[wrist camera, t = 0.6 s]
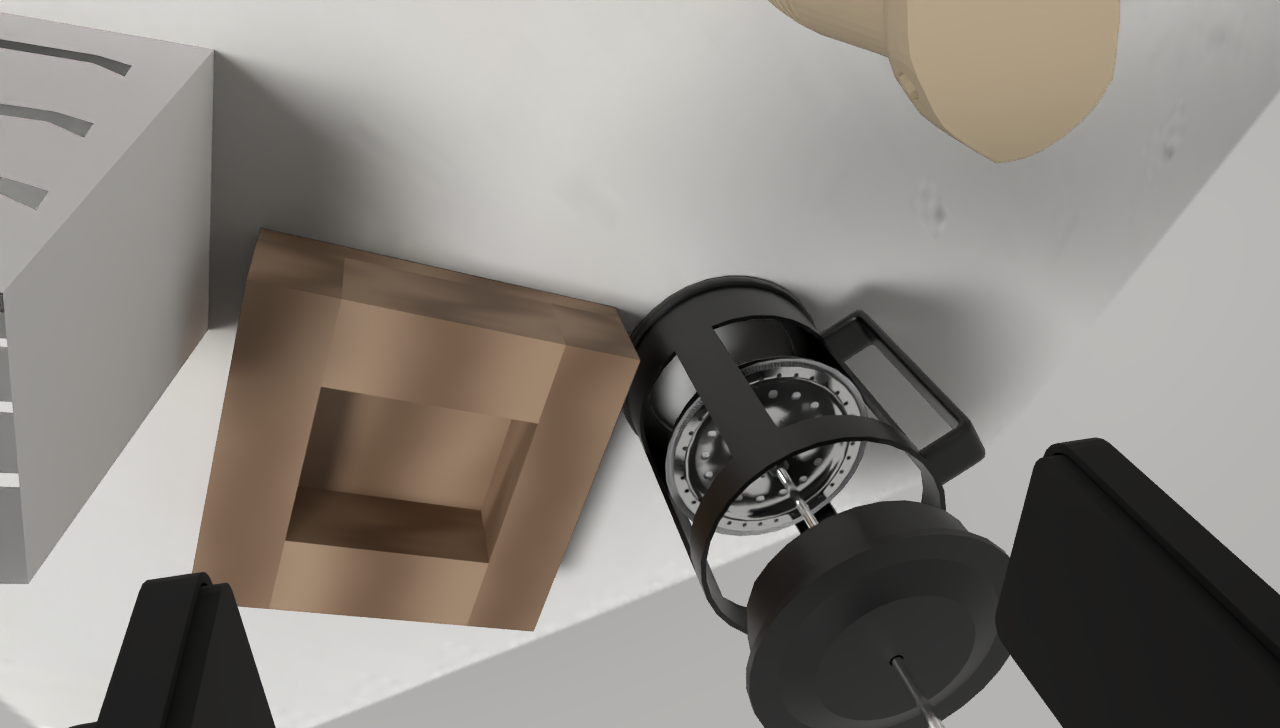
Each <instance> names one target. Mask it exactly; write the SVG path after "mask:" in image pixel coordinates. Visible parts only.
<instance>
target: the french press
mask: <svg viewBox="0 0 1280 728" xmlns="http://www.w3.org/2000/svg"><path fill="white" fill-rule="evenodd" d="M751 319H773V320H775V321H776V322H777V323H779V324H780V325H781V326H782V327H783V328H784V330H785V331H786V333H787V335H788V337H789V339H790V341H791V345H792V350H793V356H772V357H766V358H759V359H754V360H751V361H747V362H744V363H741V364H738V365H736V363H735V362H734V360H733V359H732V357H731V356H730V354H729V352H728V351H727V349H726V348H725V346H724V345H723V343H722V342H721V340H720V339H719V337H718V336H717V334H716V332H715V331H714V329H716V328H719V327H722V326H725V325H727V324H730V323H734V322H739V321H745V320H751ZM630 340H631V342H632V344H633V346H634V348H635V350H636V352H637V354H638V356H639V358H640V363H639V365H638V368H637V370H636V373H635V375H634V378H633V380H632V383H631V385H630V388H629V391H628V393H627V396H626V398H625V401H624V403H623V406H622V409H623V412H624V415H625V418H626V420H627V421H628V423H629V425H630V426H631V428H632V429H633V431H634V432H635V434H636V435H637V436H639V438H640V441H641V443H642V445H643V448H644V450H645V453H646V455H647V457H648V460H649V462H650V465H651V467H652V469H653V472H654V474H655V477H656V479H657V481H658V484H659V486H660V488H661V491H662V493H663V496H664V498H665V500H666V503H667V505H668V508H669V510H670V512H671V515H672V517H673V520H674V522H675V524H676V527H677V529H678V531H679V534H680V536H681V539H682V541H683V543H684V546H685V548H686V551H687V553H688V555H689V558H690V560H691V563H692V565H693V567H694V570H695V572H696V574H697V577H698V579H699V582H700V584H701V586H702V589H703V591H704V594H705V595H706V598H707V600H708V602H709V603H710V605H711V606H712V608H713V609H714V611H715V612H716V614H717V615H718V616H719V617H721V618H722V619H723V620H724V621H725V622H726V623H728V624H729V625H730V626H732V627H734V628H736V629H738V630H740V631H742V632H743V633H746V634H748V640H749V646H750V651H751V652H750V656H749V660H748V664H747V668H746V689H747V693H748V695H749V699H750V702H751V706H752V708H753V710H754V713H755V715H756V716H757V718H758V719H759V721H760V722H761V723H762V725H763V726H764V728H929V727H930V728H945V726H944V725H943V723H942V722H941V721H942V720H943V719H945V718H946V717H947V716H949V715H951V714H952V713H954V712H955V711H957V710H958V709H960V708H961V707H962V706H964V705H965V704H966V703H967V702H968V701H970V700H971V699H972V698H973V697H974V696H975V695H976V694H978V692H980V691H981V690H982V689H983V688H984V687H985V686H986V685H987V684H988V683H989V681H990V680H991V679H992V678H993V677H994V676H995V675H996V674H997V673H998V671H999V670H1000V669H1001V667H1002V666H1003V665H1004V663H1005V661H1006V660H1007V659H1008V657H1009V655H1010V654H1009V652H1008V651H1007V650H1006V648H1005V647H1004V645H1003V644H1002V642H1001V640H1000V638H999V636H998V633H997V629H996V625H995V614H996V609H997V606H998V602H999V598H1000V594H1001V590H1002V587H1003V583H1004V579H1005V575H1006V571H1007V567H1008V564H1009V560H1010V557H1009V556H1008V555H1007V554H1006V553H1005V551H1004V550H1002V549H1001V548H1000V547H998V546H997V545H995V544H994V543H993V542H991V541H990V540H988V539H987V538H984V537H981V536H978V535H976V534H973V533H970V532H968V531H967V530H966V529H965V527H964V526H963V525H962V524H961V522H960V521H959V520H957V519H956V518H955V517H953V516H952V515H951V514H949V513H948V512H946V505H945V495H944V489H943V487H942V485H943V484H945V483H946V482H948V481H949V480H951V479H953V478H954V477H956V476H957V475H959V474H961V473H962V472H964V471H965V470H967V469H968V468H970V467H972V466H973V465H975V464H976V463H978V462H979V461H981V460H982V459H983V458H984V457H985V449H984V447H983V445H982V443H981V441H980V439H979V437H978V435H977V433H976V431H975V429H974V427H973V425H972V423H971V421H970V420H969V419H968V418H967V416H966V415H965V414H964V413H963V412H962V411H961V410H960V409H959V408H958V407H957V406H956V405H955V404H954V403H953V402H952V401H951V400H950V399H949V398H948V397H947V396H946V395H945V394H944V393H943V392H942V391H941V390H940V389H939V388H938V387H937V386H936V385H935V384H934V383H933V382H932V381H931V380H930V378H929V377H928V376H927V375H926V374H925V373H924V372H923V371H922V370H921V369H920V368H919V367H918V366H917V365H916V364H915V363H914V362H913V361H912V360H911V359H910V358H909V357H908V356H907V355H906V354H905V353H904V352H903V351H902V350H901V349H900V348H899V347H898V346H897V345H896V344H895V343H894V342H893V341H892V339H891V338H890V337H889V336H888V335H887V334H886V333H885V332H884V331H883V330H882V329H881V328H880V327H879V326H878V325H877V324H876V323H875V322H874V321H873V320H872V319H871V318H870V317H869V316H868V315H867V314H866V313H865V312H864V311H862V310H856V311H854V312H852V313H851V314H849V315H848V316H846V317H845V318H843V319H842V320H840V321H839V322H837V323H836V324H834V325H833V326H831V327H830V328H828V329H826V330H825V331H823V332H822V333H819V332H818V331H817V329H816V327H815V325H814V322H813V320H812V318H811V316H810V315H809V313H808V312H807V311H806V309H805V308H804V307H803V306H802V304H801V303H800V302H799V301H798V300H797V299H796V298H795V297H794V296H792V295H791V294H790V293H789V292H787V291H786V290H785V289H783V288H781V287H779V286H777V285H774V284H772V283H770V282H768V281H764V280H760V279H756V278H751V277H738V276H726V277H720V278H714V279H708V280H705V281H702V282H699V283H696V284H693V285H691V286H688V287H686V288H684V289H682V290H680V291H678V292H677V293H675V294H673V295H671V296H669V297H668V298H666V299H665V300H664V301H663V302H662V303H660V304H659V305H658V306H657V307H655V308H654V309H653V310H652V311H651V312H650V313H649V314H648V315H647V316H646V317H645V319H644V320H643V321H642V322H641V323H640V324H639V325H638V326H637V328H636V330H635V331H634V333H633V335H632V336H631V338H630ZM872 344H873V345H875V346H876V347H877V348H878V349H879V350H880V351H881V352H882V353H883V354H884V356H885V357H886V358H887V359H888V360H889V361H890V362H891V363H892V364H893V365H894V366H895V367H896V368H897V369H898V371H899V372H900V373H901V374H902V375H903V376H904V377H905V378H906V379H907V380H908V381H909V382H910V383H911V384H912V386H913V387H914V388H915V389H916V390H917V391H918V392H919V393H920V394H921V395H922V396H923V397H924V398H925V399H926V401H927V402H928V403H929V404H930V405H931V406H932V407H933V408H934V409H935V410H936V411H937V412H938V413H939V414H940V416H941V417H942V418H943V419H944V420H945V421H946V422H947V423H948V424H949V425H950V426H951V427H952V428H953V430H951V431H950V432H948V433H947V434H945V435H944V436H942V437H940V438H939V439H937V440H936V441H934V442H933V443H931V444H929V445H928V446H926V447H925V448H923V449H922V450H920V451H919V450H918V449H917V448H916V447H915V445H914V444H913V443H912V442H911V441H910V439H909V438H908V437H907V436H906V435H905V434H904V432H903V431H902V430H901V429H900V428H899V426H898V425H897V424H896V423H895V422H894V421H893V419H892V418H891V417H890V416H889V415H888V414H887V412H886V411H885V410H884V409H883V408H882V406H881V405H880V404H879V403H878V402H877V401H876V399H875V398H874V397H873V396H872V395H871V393H870V392H869V391H868V390H867V389H866V388H865V386H864V385H863V384H862V383H861V382H860V380H859V379H858V378H857V377H856V376H855V375H854V373H853V372H852V371H851V370H850V369H849V368H848V366H847V365H846V364H845V363H844V361H846V360H847V359H849V358H850V357H852V356H853V355H855V354H856V353H858V352H859V351H861V350H862V349H864V348H865V347H867V346H869V345H872ZM676 354H677V356H678V358H679V360H680V362H681V363H682V365H683V367H684V369H685V371H686V372H687V374H688V376H689V378H690V380H691V381H692V383H693V385H694V387H695V389H696V391H697V392H696V393H695V394H694V396H693V397H692V398H691V399H690V401H689V402H688V403H687V404H686V406H685V407H684V409H683V411H682V412H681V414H680V416H679V417H678V419H677V421H676V423H675V425H674V428H673V429H672V428H670V427H669V426H667V425H666V424H665V423H664V422H663V421H662V420H661V419H660V418H659V417H658V416H657V415H656V413H655V411H654V410H653V408H652V405H651V402H650V398H649V396H650V393H651V390H652V388H653V385H654V384H655V382H656V380H657V379H658V377H659V376H660V374H661V372H662V371H663V369H664V368H665V367H666V366H667V365H668V363H669V362H670V361H671V360H672V359H673V358H674V357H675V356H676ZM864 402H865V404H866V405H867V406H868V407H869V408H870V410H871V411H872V412H873V413H874V414H875V416H876V417H877V418H878V419H879V420H876V419H873V418H868V417H867V410H866V406H865V404H864ZM867 441H869V442H875V443H882V444H888V445H891V446H893V447H896V448H898V449H901V450H903V451H905V452H906V453H907V454H908V456H909V457H910V458H911V459H912V461H913V462H914V463H915V464H916V465H917V467H918V468H919V469H920V470H921V475H922V483H923V493H922V501H921V503H919V502H912V501H905V500H904V501H882V502H877V503H872V504H867V505H863V506H858V507H855V508H852V509H849V510H847V511H844V512H841V513H839V514H838V513H837V512H836V510H835V509H834V507H833V506H832V504H831V503H830V501H831V500H832V499H833V498H834V497H835V496H836V495H837V494H838V493H839V492H840V491H841V490H842V489H843V488H844V486H845V485H846V484H847V482H848V481H849V480H850V478H851V477H852V476H853V474H854V473H855V471H856V469H857V467H858V465H859V463H860V461H861V459H862V456H863V453H864V450H865V446H866V443H867ZM688 518H689V519H690V520H691V521H693V524H692V526H691V523H690V521H689V519H688ZM794 524H795V526H796V527H797V529H798V531H799V532H800V534H801V535H799V536H798V537H797V538H795V539H794V540H793V541H791V542H790V543H788V544H787V545H786V546H785V547H784V548H783V549H782V550H781V551H780V552H779V553H778V554H777V555H776V556H775V557H774V558H773V559H772V560H771V561H770V562H769V563H768V564H767V566H766V567H765V569H764V570H763V571H762V572H761V574H760V575H759V577H758V578H757V579H756V581H755V582H754V586H753V588H752V592H751V595H750V598H749V601H748V604H747V607H743V606H740V605H737V604H735V603H733V602H732V601H730V600H727V599H726V598H724V597H723V596H722V594H721V592H720V589H719V587H718V585H717V583H716V580H715V578H714V576H713V574H712V571H711V569H710V567H709V564H708V562H707V555H708V550H709V545H710V541H711V539H712V537H713V535H714V533H715V532H718V533H721V534H727V535H736V536H747V535H760V534H765V533H769V532H774V531H778V530H781V529H783V528H786V527H789V526H791V525H794Z"/></svg>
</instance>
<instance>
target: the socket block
mask: <svg viewBox="0 0 1280 728" xmlns="http://www.w3.org/2000/svg"><path fill="white" fill-rule="evenodd" d="M639 363H640V358H639V356H638V354H637V352H636V350H635V348H634V346H633V344H632V342H631V340H630V338H629V335H628V333H627V331H626V329H625V327H624V325H623V323H622V321H621V319H620V317H619V315H618V312H617V310H616V308H615V307H610V306H606V305H601V304H597V303H592V302H588V301H583V300H579V299H575V298H570V297H566V296H561V295H557V294H552V293H548V292H543V291H539V290H534V289H530V288H526V287H521V286H517V285H512V284H508V283H503V282H499V281H494V280H490V279H486V278H481V277H477V276H472V275H468V274H463V273H459V272H454V271H450V270H446V269H441V268H437V267H432V266H428V265H423V264H419V263H414V262H410V261H405V260H401V259H397V258H392V257H388V256H383V255H379V254H374V253H370V252H365V251H361V250H357V249H352V248H348V247H343V246H339V245H334V244H330V243H325V242H321V241H316V240H312V239H308V238H303V237H299V236H294V235H290V234H285V233H281V232H276V231H272V230H268V229H263V228H261V229H260V233H259V237H258V240H257V244H256V247H255V251H254V254H253V258H252V262H251V265H250V269H249V272H248V276H247V279H246V285H245V290H244V295H243V301H242V306H241V312H240V317H239V322H238V328H237V333H236V339H235V344H234V349H233V355H232V360H231V366H230V371H229V376H228V382H227V387H226V393H225V398H224V403H223V409H222V414H221V420H220V425H219V430H218V436H217V441H216V447H215V452H214V457H213V463H212V468H211V474H210V479H209V484H208V490H207V495H206V500H205V506H204V511H203V517H202V522H201V527H200V533H199V538H198V544H197V549H196V554H195V560H194V565H193V571H192V573H199V572H206V573H207V574H208V575H209V577H210V579H211V581H212V583H213V584H220V583H228V584H229V585H230V586H231V589H232V591H233V594H234V597H235V600H236V603H237V606H240V607H252V608H264V609H275V610H287V611H299V612H311V613H322V614H334V615H346V616H358V617H369V618H381V619H393V620H405V621H416V622H428V623H440V624H452V625H464V626H475V627H487V628H499V629H511V630H522V631H534V629H535V627H536V624H537V621H538V619H539V616H540V614H541V611H542V609H543V606H544V604H545V601H546V599H547V596H548V594H549V591H550V588H551V586H552V583H553V581H554V578H555V576H556V573H557V571H558V568H559V566H560V563H561V561H562V558H563V555H564V553H565V550H566V548H567V545H568V543H569V540H570V538H571V535H572V533H573V530H574V528H575V525H576V522H577V520H578V517H579V515H580V512H581V510H582V507H583V505H584V502H585V500H586V497H587V495H588V492H589V489H590V487H591V484H592V482H593V479H594V477H595V474H596V472H597V469H598V467H599V464H600V462H601V459H602V457H603V454H604V451H605V449H606V446H607V444H608V441H609V439H610V436H611V434H612V431H613V429H614V426H615V424H616V421H617V418H618V416H619V413H620V411H621V408H622V406H623V403H624V401H625V398H626V396H627V393H628V391H629V388H630V385H631V383H632V380H633V378H634V375H635V373H636V370H637V368H638V365H639Z"/></svg>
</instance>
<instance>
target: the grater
mask: <svg viewBox="0 0 1280 728" xmlns="http://www.w3.org/2000/svg"><path fill="white" fill-rule="evenodd" d="M0 39H3V40H9V41H15V42H21V43H27V44H33V45H39V46H45V47H51V48H57V49H63V50H69V51H75V52H81V53H87V54H93V55H99V56H102V57H105V58H109V59H112V60H115V61H118V62H121V63H125V64H128V65H131V67H130V69H129V70H128V72H127V74H126V75H125V76H122V75H120V74H118V73H115V72H113V71H111V70H108V69H106V68H104V67H101V66H99V65H97V64H94V63H90V62H84V61H78V60H72V59H66V58H60V57H53V56H47V55H41V54H35V53H29V52H23V51H17V50H11V49H5V48H0V104H7V105H14V106H21V107H27V108H34V109H41V110H48V111H55V112H58V113H62V114H65V115H68V116H71V117H75V118H78V119H81V120H84V121H87V122H91V123H93V125H92V126H91V128H90V129H89V131H88V132H87V134H86V135H85V137H81V136H79V135H77V134H75V133H72V132H70V131H68V130H66V129H64V128H61V127H59V126H57V125H55V124H52V123H50V122H47V121H41V120H34V119H27V118H20V117H13V116H6V115H0V177H4V178H8V179H11V180H14V181H17V182H21V183H24V184H27V185H30V186H34V187H37V188H40V189H43V190H47V191H48V193H47V194H46V196H45V197H44V199H43V200H42V202H41V203H40V205H39V206H38V208H37V209H36V210H35V209H32V208H30V207H28V206H26V205H24V204H22V203H20V202H18V201H15V200H13V199H11V198H9V197H7V196H5V195H3V194H1V193H0V293H3V301H4V312H0V338H5V339H7V346H8V347H0V401H5V402H12V404H13V413H7V412H0V473H19V484H20V487H0V584H29V582H30V581H31V579H32V578H33V576H34V575H35V574H36V572H37V571H38V569H39V568H40V567H41V565H42V564H43V562H44V561H45V560H46V558H47V557H48V555H49V554H50V552H51V551H52V550H53V548H54V547H55V545H56V544H57V543H58V541H59V540H60V538H61V537H62V535H63V534H64V533H65V531H66V530H67V528H68V527H69V526H70V524H71V523H72V521H73V520H74V519H75V517H76V516H77V514H78V513H79V511H80V510H81V509H82V507H83V506H84V504H85V503H86V502H87V500H88V499H89V497H90V496H91V494H92V493H93V492H94V490H95V489H96V487H97V486H98V485H99V483H100V482H101V480H102V479H103V478H104V476H105V475H106V473H107V472H108V470H109V469H110V468H111V466H112V465H113V463H114V462H115V461H116V459H117V458H118V456H119V455H120V453H121V452H122V451H123V449H124V448H125V446H126V445H127V444H128V442H129V441H130V439H131V438H132V437H133V435H134V434H135V432H136V431H137V429H138V428H139V427H140V425H141V424H142V422H143V421H144V420H145V418H146V417H147V415H148V414H149V412H150V411H151V410H152V408H153V407H154V405H155V404H156V403H157V401H158V400H159V398H160V397H161V396H162V394H163V393H164V391H165V390H166V388H167V387H168V386H169V384H170V383H171V381H172V380H173V379H174V377H175V376H176V374H177V373H178V371H179V370H180V369H181V367H182V366H183V364H184V363H185V362H186V360H187V359H188V357H189V356H190V354H191V353H192V352H193V350H194V349H195V347H196V346H197V345H198V343H199V342H200V340H201V339H202V338H203V336H204V335H205V333H206V332H207V330H208V299H209V253H210V208H211V162H212V116H213V71H214V50H213V49H207V48H202V47H196V46H190V45H184V44H179V43H173V42H167V41H161V40H156V39H150V38H144V37H138V36H133V35H127V34H121V33H115V32H110V31H104V30H98V29H92V28H87V27H81V26H75V25H69V24H64V23H58V22H52V21H46V20H41V19H35V18H29V17H23V16H18V15H12V14H6V13H0Z"/></svg>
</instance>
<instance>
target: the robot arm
mask: <svg viewBox="0 0 1280 728" xmlns="http://www.w3.org/2000/svg"><path fill="white" fill-rule="evenodd" d="M995 625H996V629H997V633H998V636H999V638H1000V640H1001V642H1002V644H1003V645H1004V647H1005V648H1006V650H1007V651H1008V652H1009V654H1010V655H1011V656H1012V658H1013V659H1014V660H1015V662H1016V663H1017V665H1018V666H1019V667H1020V669H1021V670H1022V672H1023V673H1024V674H1025V676H1026V677H1027V679H1028V680H1029V681H1030V682H1031V684H1032V685H1033V687H1034V688H1035V690H1036V691H1037V692H1038V694H1039V695H1040V696H1041V698H1042V699H1043V700H1044V702H1045V703H1046V705H1047V706H1048V708H1049V709H1050V710H1051V712H1052V713H1053V714H1054V716H1055V717H1056V719H1057V720H1058V721H1059V723H1060V724H1061V725H1062V727H1063V728H1280V595H1279V594H1278V593H1277V592H1276V591H1275V590H1274V589H1273V588H1271V587H1270V586H1269V585H1268V584H1267V583H1266V582H1264V580H1262V579H1261V578H1260V577H1259V576H1258V575H1257V574H1255V572H1253V571H1252V570H1251V569H1250V568H1249V567H1248V566H1247V565H1245V564H1244V563H1243V562H1242V561H1241V560H1240V559H1239V558H1238V557H1237V556H1236V555H1234V554H1233V553H1232V552H1231V551H1230V550H1229V549H1228V548H1227V547H1225V546H1224V545H1223V544H1222V543H1221V542H1220V541H1219V540H1218V539H1216V538H1215V537H1214V536H1213V535H1212V534H1211V533H1210V532H1209V531H1207V530H1206V529H1205V528H1204V527H1203V526H1202V525H1201V524H1200V523H1199V522H1197V521H1196V520H1195V519H1194V518H1193V517H1192V516H1191V515H1190V514H1188V513H1187V512H1186V511H1185V510H1184V509H1183V508H1182V507H1181V506H1180V505H1178V504H1177V503H1176V502H1175V501H1174V500H1173V499H1172V498H1171V497H1169V496H1168V495H1167V494H1166V493H1165V492H1164V491H1163V490H1162V489H1160V488H1159V487H1158V486H1157V485H1156V484H1155V483H1154V482H1153V481H1151V480H1150V479H1149V478H1148V477H1147V476H1146V475H1145V474H1144V473H1143V472H1141V471H1140V470H1139V469H1138V468H1137V467H1136V466H1135V465H1133V464H1132V463H1131V462H1130V461H1129V460H1128V459H1127V458H1126V457H1125V456H1123V455H1122V454H1121V453H1120V452H1119V451H1118V450H1117V449H1116V448H1114V447H1113V446H1112V445H1111V444H1110V443H1108V442H1107V441H1105V440H1104V439H1101V438H1089V439H1083V440H1076V441H1069V442H1063V443H1057V444H1053V445H1051V446H1050V447H1049V448H1048V449H1047V450H1046V452H1045V454H1044V457H1043V458H1040V459H1039V460H1038V461H1037V462H1036V463H1035V466H1034V468H1033V472H1032V476H1031V479H1030V483H1029V487H1028V491H1027V495H1026V499H1025V503H1024V507H1023V510H1022V514H1021V518H1020V522H1019V525H1018V529H1017V533H1016V537H1015V541H1014V544H1013V548H1012V552H1011V556H1010V560H1009V564H1008V567H1007V571H1006V575H1005V579H1004V583H1003V587H1002V590H1001V594H1000V598H999V602H998V606H997V609H996V614H995ZM69 728H275V725H274V721H273V718H272V715H271V712H270V709H269V705H268V702H267V699H266V696H265V693H264V689H263V686H262V683H261V680H260V677H259V674H258V670H257V667H256V664H255V661H254V658H253V654H252V651H251V648H250V645H249V642H248V639H247V635H246V632H245V629H244V626H243V623H242V619H241V616H240V613H239V610H238V607H237V603H236V600H235V597H234V594H233V591H232V589H231V586H230V585H229V584H228V583H220V584H213V583H212V581H211V579H210V577H209V575H208V574H207V573H206V572H199V573H192V574H185V575H179V576H172V577H165V578H159V579H152V580H147V581H146V582H144V583H143V585H142V587H141V589H140V591H139V594H138V597H137V600H136V603H135V606H134V609H133V612H132V615H131V619H130V622H129V625H128V628H127V631H126V634H125V637H124V640H123V643H122V646H121V649H120V653H119V656H118V659H117V662H116V665H115V668H114V671H113V674H112V677H111V680H110V683H109V687H108V690H107V693H106V696H105V699H104V702H103V705H102V708H101V711H100V714H99V717H98V721H97V722H92V723H86V724H81V725H76V726H72V727H69Z"/></svg>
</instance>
